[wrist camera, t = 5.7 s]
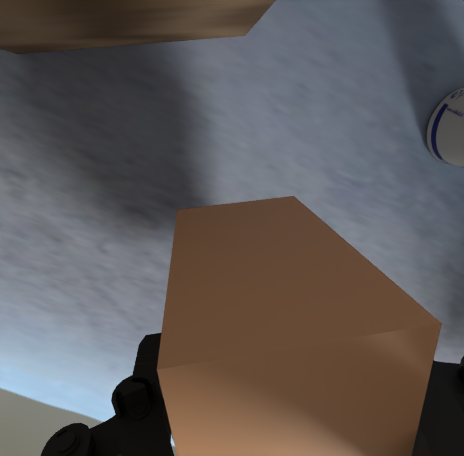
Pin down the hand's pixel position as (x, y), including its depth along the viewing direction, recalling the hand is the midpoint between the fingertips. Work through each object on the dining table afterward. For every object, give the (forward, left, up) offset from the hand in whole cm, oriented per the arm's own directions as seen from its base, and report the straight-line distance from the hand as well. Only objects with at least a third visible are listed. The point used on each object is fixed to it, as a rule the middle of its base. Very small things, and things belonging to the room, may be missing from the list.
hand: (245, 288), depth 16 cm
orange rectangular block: (0, 0, -1) cm, 1 cm away
